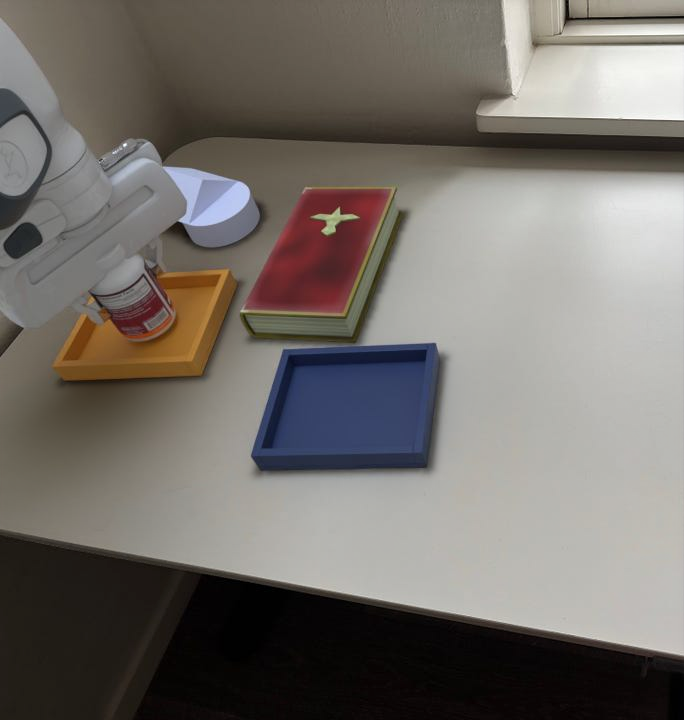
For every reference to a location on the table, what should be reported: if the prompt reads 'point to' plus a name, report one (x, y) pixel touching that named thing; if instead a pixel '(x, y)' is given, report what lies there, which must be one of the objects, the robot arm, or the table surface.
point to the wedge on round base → (215, 207)
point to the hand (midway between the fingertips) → (131, 296)
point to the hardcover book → (324, 265)
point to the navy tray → (349, 408)
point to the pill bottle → (133, 296)
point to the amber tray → (164, 353)
